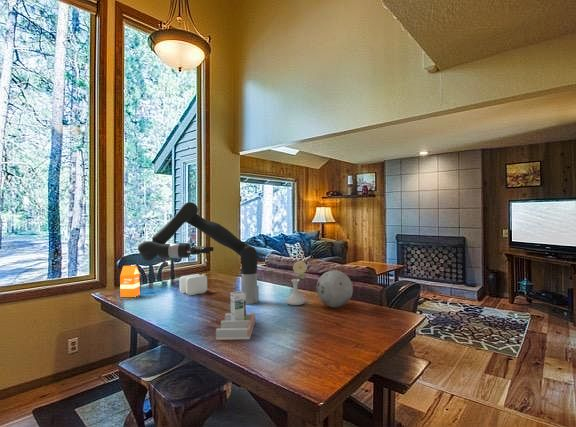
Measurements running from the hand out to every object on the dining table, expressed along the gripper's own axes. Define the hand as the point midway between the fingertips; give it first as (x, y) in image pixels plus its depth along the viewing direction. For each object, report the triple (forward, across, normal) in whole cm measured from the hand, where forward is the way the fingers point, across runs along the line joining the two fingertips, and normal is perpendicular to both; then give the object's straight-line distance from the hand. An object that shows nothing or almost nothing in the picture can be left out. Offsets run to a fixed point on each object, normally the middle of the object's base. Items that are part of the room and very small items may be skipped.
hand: (211, 250), depth 162 cm
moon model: (+65, +14, +34) cm, 74 cm away
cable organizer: (-24, +50, +34) cm, 66 cm away
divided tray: (+16, -19, +34) cm, 42 cm away
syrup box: (+15, -14, +33) cm, 39 cm away
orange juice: (-63, +44, +34) cm, 84 cm away
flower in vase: (+44, +20, +34) cm, 59 cm away
